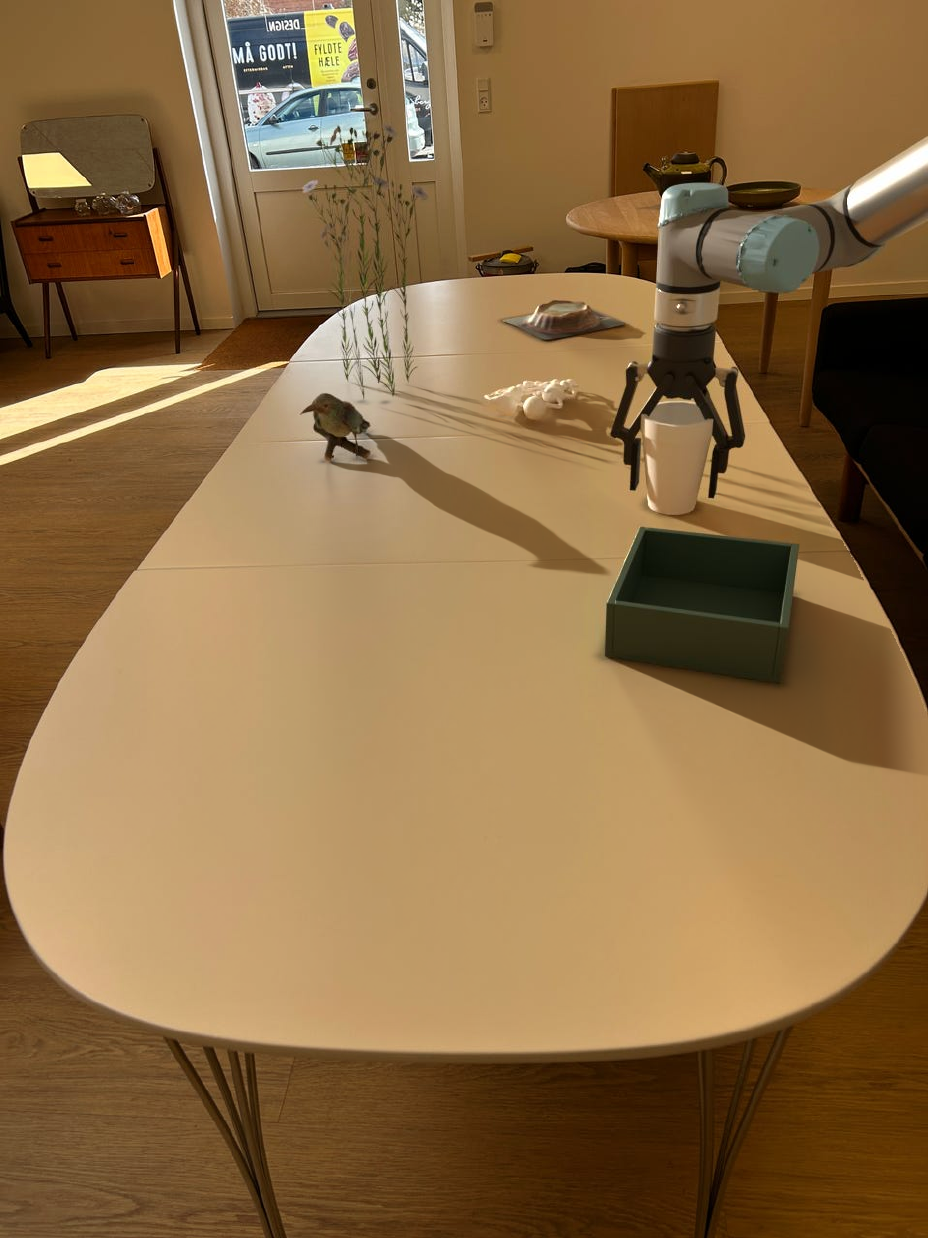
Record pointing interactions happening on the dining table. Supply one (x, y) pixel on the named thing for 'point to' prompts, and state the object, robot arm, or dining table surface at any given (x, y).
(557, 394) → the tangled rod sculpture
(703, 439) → the foam cup
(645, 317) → the dining table surface
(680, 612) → the dish tub
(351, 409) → the bird figurine
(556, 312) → the quiche
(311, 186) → the wildflower
